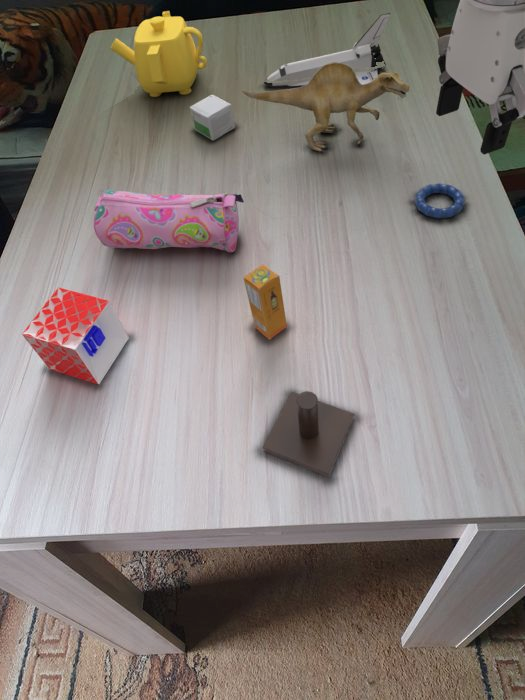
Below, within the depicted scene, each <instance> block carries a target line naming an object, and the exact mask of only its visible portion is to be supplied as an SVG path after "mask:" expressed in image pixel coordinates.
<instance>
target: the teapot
mask: <svg viewBox="0 0 525 700" xmlns="http://www.w3.org/2000/svg"><path fill="white" fill-rule="evenodd" d="M193 35H194V36H196V38H197V46H196V44H195V41H194V38H193ZM203 45H204V38H203V34H202V33H201V31H200V30H199V29H197V28H195V27H193V26H188V25H187V23H186V21H185V19H184V18H183V17H182V16H178V15H177V16H171V12H170V10H166V11H162V16H160V15H159V16H154V17H151V18H148V19H147V18H146V19H145V20H143V21H141V23H140V24H139V25H138V27H137V28H136V31H135V34H134V40H133V49H132V48H131V47H130V46H127V45H126V44H125V43H124V42H122V41H121V40H120V39H118V38H117V37H116V38H114V40H113V42H112V44H111V46H110V48H109V49H110V50H111V51H113V52H114V53H115V54H117V55H118V56H120V57H122V58H123V60H126V61H127V62H128V63H130V64H131V65H132V66H134V67H135V72H136V77H137V80H138V83H139V86H140V87H141V88H142V89H143V91H144V92H145V93H147V94H149V96H150V97H151V98H157V97H159V96H161V95H162V94H163V93H171V92H178V93H179V94H180V95H188V94H190V93H191V92H192V89H191V87H192V86H193V84H194V82H195V81H196V78H197V75H198V70H202V69H205V68H206V67H207V65H208V60H207V58H206V57H205V56H204V55H202V54H201V53H202V50H203ZM200 61H201V62H200Z"/></svg>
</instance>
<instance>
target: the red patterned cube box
mask: <svg viewBox="0 0 525 700" xmlns="http://www.w3.org/2000/svg"><path fill="white" fill-rule="evenodd" d="M21 335H22V336H23V337H24V339H25V341H27V342H28V344H29V346H30V347H31V348H32V349H33V351H34V352H35V353H36V354H37V355H38V356H39V358H40V359H41V360H42V361H43V363H44V364H45V365H46V367H47V368H48V369H49V370H50V371H54V372H56V373H59V374H64V375H66V376H70V377H73V378H76V379H79V380H82V381H84V382H85V381H86V382H89V383H92V384H96V385H98V386H99V385H100V384H101V383H102V381H103V379H104V377H105V376H106V374H107V373H108V372H109V370H110V368H111V367H112V365H113V363H114V362H115V361H116V359H117V358H118V356H119V355H120V353H121V351H122V350H123V348H124V346H125V345H126V343H127V342H128V341H129V339H130V337H129V335H128V333H127V332H126V329H125V328H124V325H123V323H122V322H121V320H120V318H119V316H118V314H117V312H116V310H115V308H114V306H113V304H112V303H111V301H110V300H109V299H105V298H102V297H98V296H94V295H89V294H85V293H81V292H78V291H74V290H70V289H65V288H62V287H57V288H56V290H55V291H54V292H53V293H52V295H51V296H50V297H49V299H48V300H47V301H46V302H45V304H44V305H43V306H42V307H41V309H40V310H39V311H38V313H37V314H35V316H34V318H33V319H32V320H31V322H30V323H29V324H28V325H27V327H26V328H25V329H24V330H23V332H22V333H21Z"/></svg>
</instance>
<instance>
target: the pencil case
mask: <svg viewBox="0 0 525 700" xmlns="http://www.w3.org/2000/svg"><path fill="white" fill-rule="evenodd" d="M237 203H244V198H243V197H242V194H235V193H234V194H231V193H230V192H220V193H218V194H215V195H214V194H165V193H163V194H162V193H161V194H144V193H141V192H137V191H128V190H127V191H123V190H122V191H117V190H116V191H115V190H112V189H105V190H104V191H102V194H101V195H99V196H98V198H97V202H96V204H95V207H94V212H95V213H94V217H93V230H94V233H95V236H96V237H97V239H98V240H99V242H100V243H101V245H102V246H104V247H107V248H113V249H115V248H118V249H141V250H158V249H166V248H173V247H174V248H185V249H186V248H187V249H191V248H192V249H193V248H213V249H217V250H220V251H225V252H227V253H234V252H235V251H236V249H237V246H238V236H239V224H240V223H239V221H240V217H239V209H238V204H237Z"/></svg>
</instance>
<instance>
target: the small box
mask: <svg viewBox="0 0 525 700" xmlns="http://www.w3.org/2000/svg"><path fill="white" fill-rule="evenodd" d="M189 109H190V114H191V118H192V123H193V127H194V131H196V132H197V133H200V134H201V135H203V136H204V137H206V138H208V139H209V140H211V141H212V142H213V141H215V140H217V139H219V138H221V137H222V136H224V135H225V134H227V133H229V132H231V131H232V130H234V129H235V128H236V125H235V120H234V113H233V108H232V104H231V103H230V102H227V100H226V101H225V100H224V99H221V98H220V97H218V96H216V95H214V94H211V95H208V96H207V97H205V98H203V99H201V100H199V101H197V102H196V103H194V104H193V105H191V106H189Z"/></svg>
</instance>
